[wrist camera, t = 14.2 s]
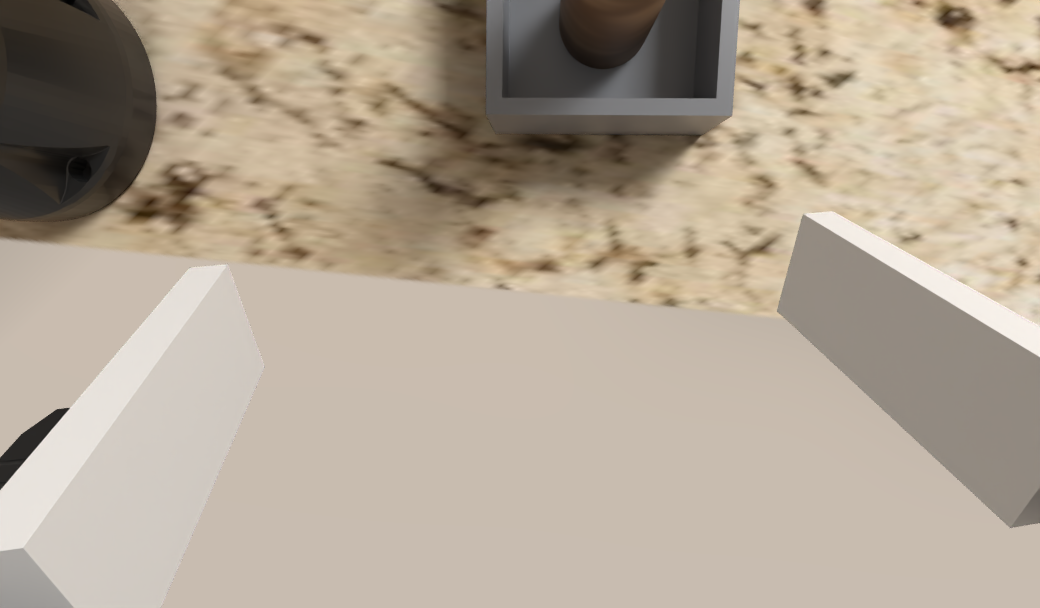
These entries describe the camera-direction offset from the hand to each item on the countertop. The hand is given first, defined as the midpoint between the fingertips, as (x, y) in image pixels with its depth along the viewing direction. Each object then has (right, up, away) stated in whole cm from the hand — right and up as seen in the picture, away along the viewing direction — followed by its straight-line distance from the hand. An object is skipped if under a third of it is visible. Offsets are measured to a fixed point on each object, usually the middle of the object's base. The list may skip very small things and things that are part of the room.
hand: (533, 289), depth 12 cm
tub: (+4, +16, +18) cm, 24 cm away
